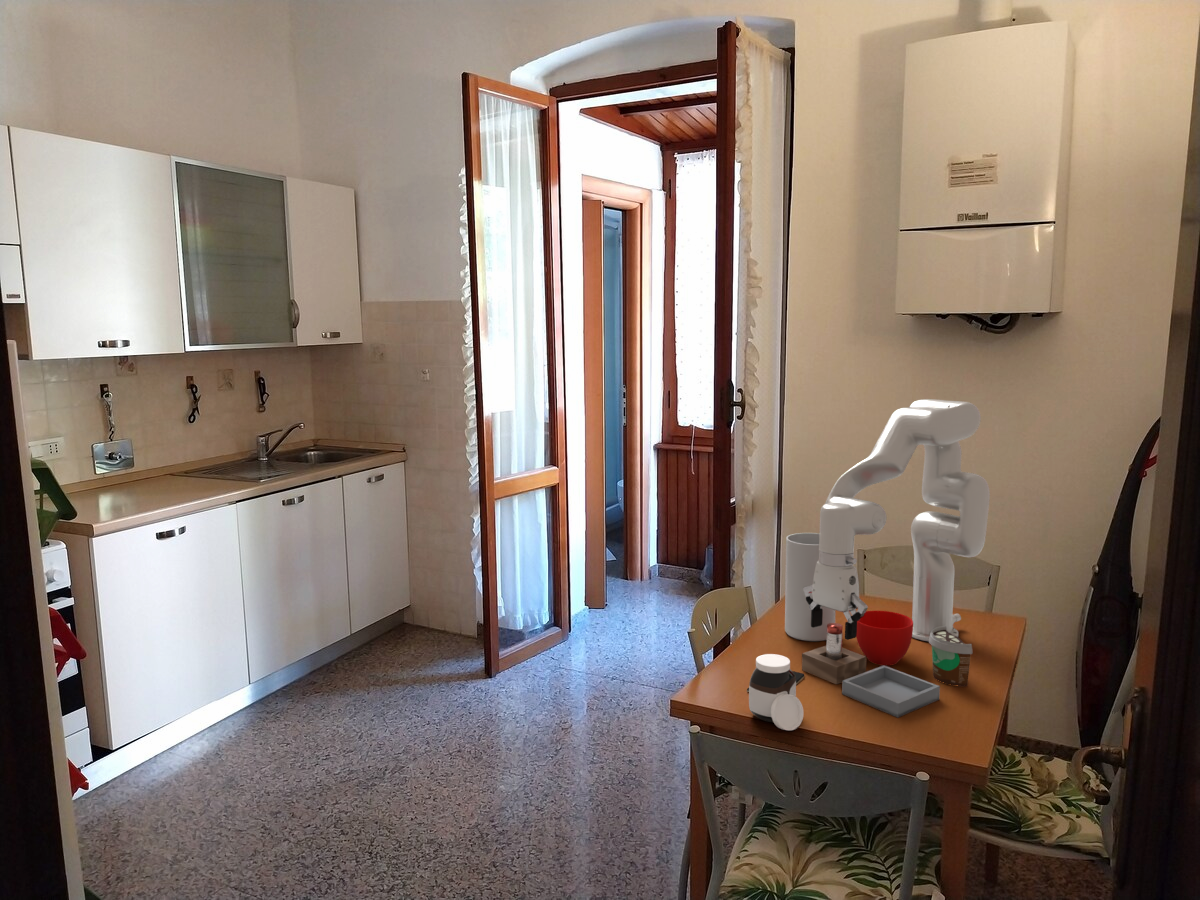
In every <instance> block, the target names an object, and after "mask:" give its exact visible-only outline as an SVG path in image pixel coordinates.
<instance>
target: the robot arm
mask: <svg viewBox="0 0 1200 900" xmlns="http://www.w3.org/2000/svg"><path fill="white" fill-rule="evenodd" d="M981 417H982V416H981V412H980V410H979V408H978V406H976V405H975V404H974V403H972V402H969V401H962V400H959V401H958V400H946V399H933V398H932V399H931V398H925V399H923V398H922V399H917V400H915V401H913V402H912V403H911V404H910V405H909V407H901V408H897V409H896V410H894V412H892V414H891V415H890V416H889V418H888V421H887V422H886V424H885V426H884V428H883V430H882V432H881V433H880V434H879V437H878V439H877V440H876V442H875V445H874V446H873V448H872V450H871V453H870V454H869V455H868V456H867V457H866V458H865V459H863V460H861V461H860V462H858V463H856V464H855V465H854V466H852V467H851V468H849V469H848V470H847V471H845V472H844V473H843V474H841V476H840V477H839V478H838V479H837V480H836V482H835V483H834V485H833V487H832V488H831V491H829V494H828V496H827V497H826V500H825V503H824V504H823V505H822V506H821V507H820V511H819V512H820V513H819V561H818V562H817V564H816V568H815V573H814V579H813V585H811V586H808V587H805V588H804V589H803V590H804V593H805V596H806V601H807V602H808V604H809V609H810V610H811V627H813V628H814V627H818V626H821V625H822V618H823V610H822V608H820V607H821V606H824V607H827V608H830V609H833V610H835V612H836V611H837V612H840V613H843V615H844V617H845V619H846V620H847V621H845V623H844V639H845V640H847V641H849V640H852V639H857V638H856V634H857V621H859V620H860V619H861V618H862V617H863V616H864V613H865V612H866V611H868V609H869V606H868V605H867V604H866V603H865V601H863V600H862V599H861V598H860V586H859V584H860V582H859V581H860V580H859V575H858V570H857V566H855V565H856V564H857V562H858V560H857V558H855V557H854V556H855V553H854V552H855V536H856V535H861V536H862V535H863V536H864V535H865V536H866V535H867V536H869V535H874V534H877V533H879V532H880V531H881V530H882V529H883V528H884V527H885V526H886V523H887V518H888V517H887V513H886V510H885V509H884V508H883V506H881V505H880V504H879V503H876V502H874V501H870V500H864V499H860V498H855V496H857V494H859V493H860V492H861V491H863V490H864V489H866V488H867V487H870V486H873V485H875V484H879V483H882V482H886V481H890V480H893V479H896V478H898V477H900V476H902V475H903V474H904V472H905V470H906V468H907V466H908V464H910V460H911V459H912V458H913V457H912V456H913V455H914V453H915V450H917V448H918V446H920V445H923V448H924V462H923V471H922V472H923V473H922V481H921V482H922V484H921V496H922V500H923V501H924V503H926V504H928V505H930V506H933V507H937V508H943V509H947V510H954V511H959V515H954V514H950V513H944V512H940V511H930V510H929V511H924V512H920V513H918V514H917V515H916V516H915V517H914V518H913V520H912V522H911V526H910V533H911V534H910V535H911V540H912V541H911V543H912V545H913V558H914V559H913V584H912V585H913V587H912V588H913V591H912V613H911V614H912V616H911V619H912V621H913V633H912V639H913V638H914V639H916V640H920V641H923V642H929V637H930V634H931V632H932V630H933V629H935V628H937V627H942V626H947V631H948V632H949V633H951V634H952V635H955V636H957V637H958V638H959V631H958V630H957V629H956V628H954V624H955V623H957V622H960V621H961V620H962V617H961V614H959V613H953V610H954V608H953V607H954V589H955V587H954V585H955V584H954V583H955V565H954V562H953V559H952V556H951V555H955V556H959V557H964V558H974V557H976V556H979V554H981V552H982V550H983V548H984V547H985V542H986V537H987V536H986V535H987V528H988V520H989V519H988V518H989V509H990V500H991V499H990V498H991V492H990V487H989V483H988V481H987V480H986V479H985V478H984V477H983V476H981V475H980V474H977V473H973V472H967V471H962V468H961V467H962V454H963V453H962V447H961V444H960V442H961V441H963V440H966V439H969V438H971V437H973V435H974V434H975V433H976V432H977V431H978V429H979V427H980V425H981V422H982V421H981Z"/></svg>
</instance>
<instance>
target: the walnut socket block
mask: <svg viewBox="0 0 1200 900" xmlns="http://www.w3.org/2000/svg"><path fill="white" fill-rule="evenodd" d="M826 650H827V644H826V645H824V646H820V647H817V648H814V649H812V650H809V651H808V650H807V651H805V652H802V653H801V655H802V656H801V670H802V671H803V672H805V673H808V674H811V675H813V676H815V677H817V678H820V679H822V680H825V681H827V682H830V683H831V684H834V685H839V684H842V681H843V680H846V679H848V678H851V677H854V676H857V675H859V674H862V673H865V672H867V657H866V656H865V655H864V654H860V653H858V652H855V651H853V650H849V649H848V648H844V647H842V659H839V660H836V661H835V660H832V659H830V658H827V657H826Z"/></svg>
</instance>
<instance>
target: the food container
mask: <svg viewBox="0 0 1200 900" xmlns="http://www.w3.org/2000/svg"><path fill="white" fill-rule="evenodd" d="M928 643H929V644H930V645H931V656H932V658H931V659H932V660H931V661H932V677H933V678H934V679H935V680H936V679H937V680H936V681H938V680H939V681H938V682H940V681H941V682H940V683H942V682H944V683H943V684H945V683H946V684H945V685H948V684H951V685H950V686H953V685H958V686H957V687H968V684H969V676H970V675H969V674H970V665H971V664H970V663H971V656H972V655H973V645H972V644H973V643H964V642H963V640H962V639H960V637H959V636H958V637H957V636H955V635H952V634H951V633H949V632H948V631H947V626H942V627H937V628H935V629H933V630H932V632H931V634H930V637H929V641H928Z"/></svg>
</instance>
